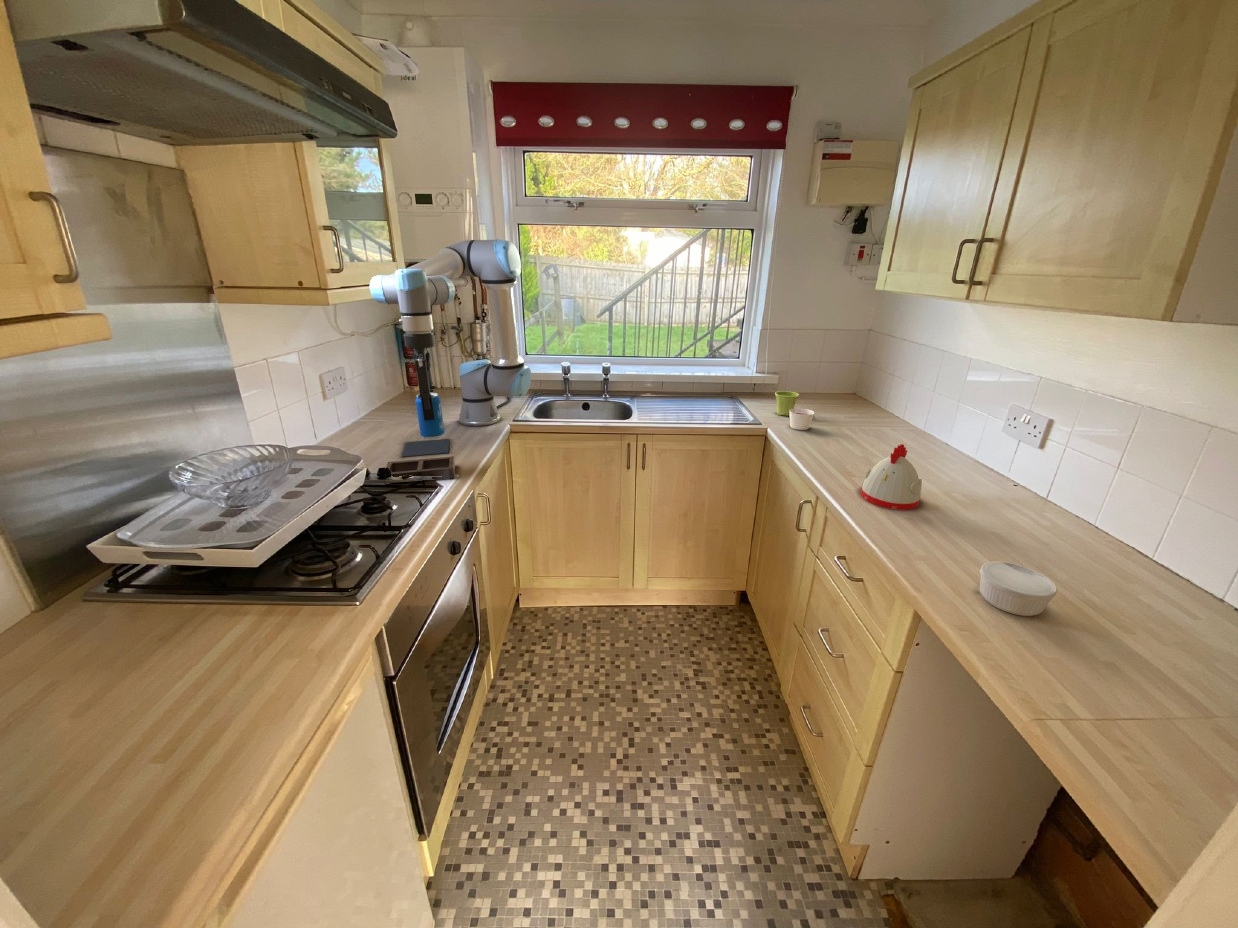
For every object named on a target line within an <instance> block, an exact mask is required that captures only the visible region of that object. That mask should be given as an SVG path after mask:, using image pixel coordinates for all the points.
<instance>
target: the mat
mask: <svg viewBox="0 0 1238 928" xmlns="http://www.w3.org/2000/svg"><path fill="white" fill-rule="evenodd" d="M449 451H450V438H441V439H427V440H416V441H415V440H414V441H406V443H405V445H404V448H403V451H402V454H401V457H402V458H409V457H410V458H411V457H422V456H423V457H424V456H433V455H444V454H445V455H447V454H449Z"/></svg>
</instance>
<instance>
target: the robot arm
mask: <svg viewBox="0 0 1238 928" xmlns="http://www.w3.org/2000/svg"><path fill="white" fill-rule="evenodd" d="M521 269H522V261H521V256H520V254H519V251H518V249H517V247H516V246H515V244H514V243H513V242H511V241H510V240H505V239H466V240H461V241H459V242H455V243H454V244H453V243H452V244H451V245H449V246H445V247H443V248H442V249H440V250H438V252H437V253H436V255H434V256H432V257H429V258H427V259H425V260H423V261H420V262H418V263H416V264H413V265H410V266H409V267H406V268H399V269H396V270H395V272H394V273H392V274H388V275H387V274H380V275H375V276H373V277H372V278H371V280H370V282H369V291H370V295H371V297H372V298H373V300H374V301H375V302H376V303H379V304H387V305H398V306H399V315H400V318H399V320H398V323H399V324H402V325H401V326H402V331H403V332H404V333H403V341H404V347H405V348H407V349H411V350H413V349H414V350H415V353H413V356H412V357H413V362H414V365H415V371H416V375H417V383H418V391H419V393H418V394H419V395H418V394H417V395H418V398H421V402H422V409H423V416H424V421H426V420H435V417H434V410H433V403H432V396H431V394H430V393H434V390H436V385H434V383H433V379H432V372H431V367H432V366H431V353H430V352H429V350H427V349H430V348H434V347H435V346H436V341H435V333H434V332H433V330H434V322H433V314H432V310H431V309H432V308H431V307H434V306H444V305H446V304H450V303H451V302H452V301H453V300H454V298H455V296H456V287H455V285H454V283H453V281H452V280H456V279H458V278H461V277H462V278H463V277H464V278H465V277H471V278H480V281H481V282H480V283H481V285H482V286H483V287H485V288H486V294H487V301H488V309H489V317H490V318H489V319H490V327H491V333H492V334H491V335H492V342H493V350H494V358H493V360H490V359H487V358H485V359H476V360H471V361H466V362H463V363H461V364H460V365H459V369H458V370H459V374H458V377H459V383H460V392H461V399H462V401H461V403H462V404H461V409H460V411H459V417H458V418H459V423H460V424H461V425H464V426H468V427H482V426H484V427H485V426H490V425H494V424H496V423H498V422H500V421H501V415H500V412H499V408H501V407H503V406H505V405H507V404H509V403H510V401H511V398H523V397H525V396H526V395H527V394H528V392H529V389H530V387H531V382H532V371H531V368H530V367H529V366H527V365H525V360H524V358H523V357H521V356H520V351H519V341H518V332H517V320H516V312H515V303H514V302H515V301H514V292H513V287H514V286H515V284H516V283H517V278H519V277H520V275H521V273H522V271H521ZM495 397H505V398H507V400H505V401H504V402H502V403H500V404H498V405H496V403H495V399H494V398H495Z"/></svg>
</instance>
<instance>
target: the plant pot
mask: <svg viewBox="0 0 1238 928" xmlns="http://www.w3.org/2000/svg"><path fill="white" fill-rule="evenodd" d="M774 395H775V399H776V414H777V415H779V416H786V417H788V416H789V417H790V415H789V410H790V409H794V408H795V407H796V406H795V405H796V403H797V399H798V397H799V396H800V394H799V393H798V392H795V391H787V390H781V391H776V392H775V393H774Z"/></svg>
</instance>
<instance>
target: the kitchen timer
mask: <svg viewBox="0 0 1238 928" xmlns="http://www.w3.org/2000/svg"><path fill="white" fill-rule="evenodd" d="M907 454H908V450H907V447H905V444H902V443H900V444H897V447H894V448H893V453H892V452H891V453H890V456H888V457H885V458H883V459H882V460H880V461H879V462H877V463H876V464H875V465H874V466H873V467H872V468H870V467H869V468H868V469H867V472H866V474H865V476H864V480H863V483H862V485H861V490H860V495H861V497H862V498H863V499H864V500H866V501H867V502H869V503H870V504H873V505H876V506H879V507H882V508H886V509H891V510H897V511H898V510H899V511H902V510H904V511H905V510H907V511H908V510H912V509H916V508H917V507H918V506H919V505H920V501H921V495H922V493H921V491H922V482H923V479H922V478H919V475H918V472H917V470H916V468H915V467H914V465H913V464H912V463H911V462H910V460H909V459H907V458H906V457H907Z"/></svg>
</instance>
